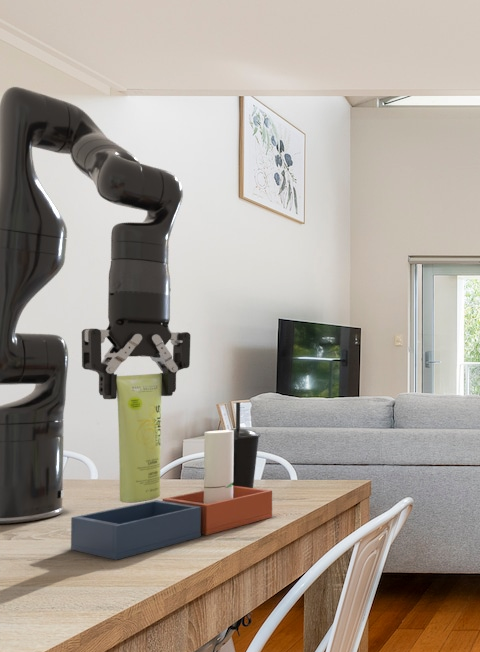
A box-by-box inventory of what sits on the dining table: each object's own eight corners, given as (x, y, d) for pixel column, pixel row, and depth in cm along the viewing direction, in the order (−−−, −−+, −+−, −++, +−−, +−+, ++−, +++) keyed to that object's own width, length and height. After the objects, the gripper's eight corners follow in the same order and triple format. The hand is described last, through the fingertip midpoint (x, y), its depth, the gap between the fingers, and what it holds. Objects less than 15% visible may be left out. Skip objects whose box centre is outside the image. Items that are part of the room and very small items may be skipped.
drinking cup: (267, 502, 114) (268, 402, 114) (225, 511, 107) (226, 404, 108) (247, 498, 118) (248, 400, 118) (206, 505, 112) (207, 403, 112)
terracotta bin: (162, 527, 97) (162, 498, 98) (229, 510, 108) (229, 485, 108) (206, 535, 93) (206, 505, 93) (272, 517, 104) (272, 490, 104)
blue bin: (70, 549, 86) (71, 517, 86) (156, 528, 97) (156, 500, 97) (116, 560, 81) (116, 526, 81) (200, 536, 92) (201, 506, 92)
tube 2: (210, 522, 98) (211, 433, 98) (198, 518, 100) (199, 432, 100) (237, 516, 101) (238, 431, 101) (225, 512, 103) (226, 429, 104)
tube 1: (158, 501, 88) (158, 374, 88) (115, 506, 85) (116, 375, 86) (161, 493, 93) (162, 373, 93) (121, 498, 90) (121, 374, 90)
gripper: (174, 297, 98) (173, 394, 97) (69, 287, 85) (68, 399, 84) (202, 295, 95) (202, 395, 94) (99, 285, 82) (97, 401, 81)
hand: (138, 397), depth 89 cm, fingers closed on tube 1, 7 cm apart
